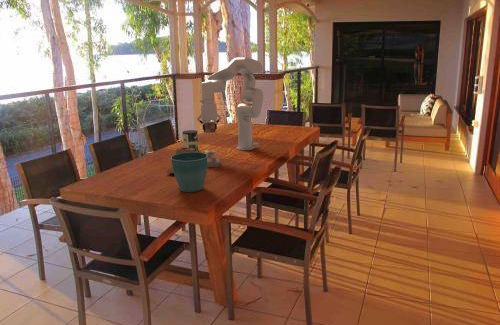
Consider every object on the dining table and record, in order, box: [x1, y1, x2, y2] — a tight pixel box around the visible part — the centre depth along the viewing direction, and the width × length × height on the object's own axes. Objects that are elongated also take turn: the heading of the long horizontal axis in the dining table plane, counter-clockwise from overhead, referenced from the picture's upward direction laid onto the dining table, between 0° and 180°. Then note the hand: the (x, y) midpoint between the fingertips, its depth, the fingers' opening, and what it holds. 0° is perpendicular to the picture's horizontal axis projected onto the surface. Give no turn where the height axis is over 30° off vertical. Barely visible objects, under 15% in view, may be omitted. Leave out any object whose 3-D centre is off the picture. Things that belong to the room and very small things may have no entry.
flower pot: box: [170, 151, 208, 193], centre depth 219 cm, size 18×18×17 cm
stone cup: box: [166, 146, 194, 175], centre depth 248 cm, size 15×12×15 cm
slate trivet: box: [207, 157, 221, 168], centre depth 266 cm, size 10×10×2 cm
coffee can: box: [182, 129, 199, 152], centre depth 302 cm, size 10×10×14 cm
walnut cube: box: [204, 120, 216, 134], centre depth 275 cm, size 6×6×6 cm
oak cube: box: [204, 149, 217, 162], centre depth 265 cm, size 6×6×6 cm
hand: (210, 130), depth 276 cm, fingers closed on walnut cube, 6 cm apart
